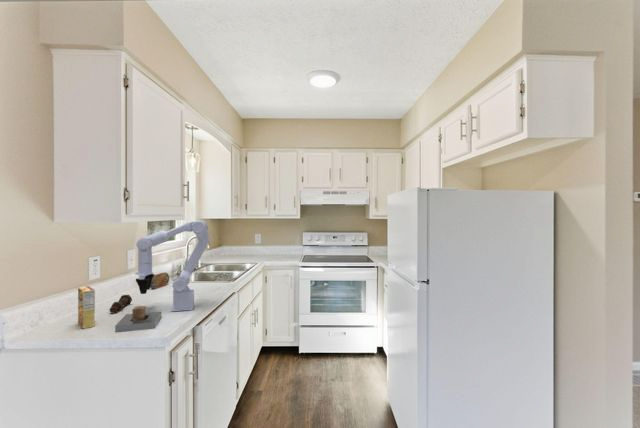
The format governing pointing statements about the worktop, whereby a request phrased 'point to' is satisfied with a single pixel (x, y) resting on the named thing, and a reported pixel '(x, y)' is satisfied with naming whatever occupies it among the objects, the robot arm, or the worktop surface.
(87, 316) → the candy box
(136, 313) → the block
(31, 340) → the worktop surface
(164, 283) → the brown oval slab
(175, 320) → the worktop surface
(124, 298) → the dark brown dumbbell shape
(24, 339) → the worktop surface
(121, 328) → the socket plate
